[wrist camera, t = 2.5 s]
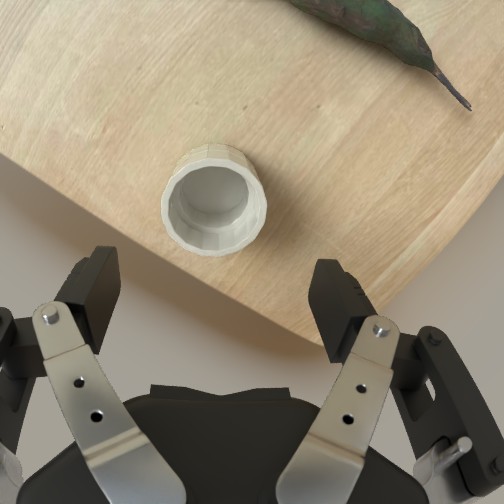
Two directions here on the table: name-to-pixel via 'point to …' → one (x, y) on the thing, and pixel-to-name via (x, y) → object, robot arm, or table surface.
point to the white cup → (214, 201)
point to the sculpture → (381, 31)
